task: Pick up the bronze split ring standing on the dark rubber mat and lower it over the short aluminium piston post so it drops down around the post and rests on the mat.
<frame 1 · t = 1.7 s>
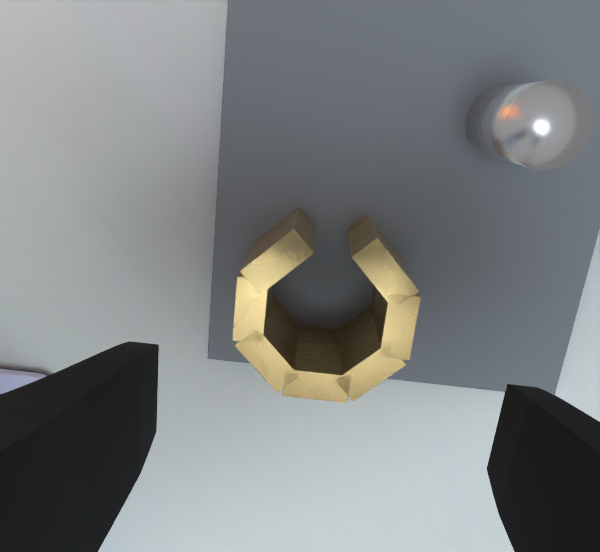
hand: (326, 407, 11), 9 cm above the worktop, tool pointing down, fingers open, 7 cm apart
piston post: (496, 122, 18), resting on mat
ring: (324, 281, 19), resting on mat
mat: (411, 174, 19), on the worktop
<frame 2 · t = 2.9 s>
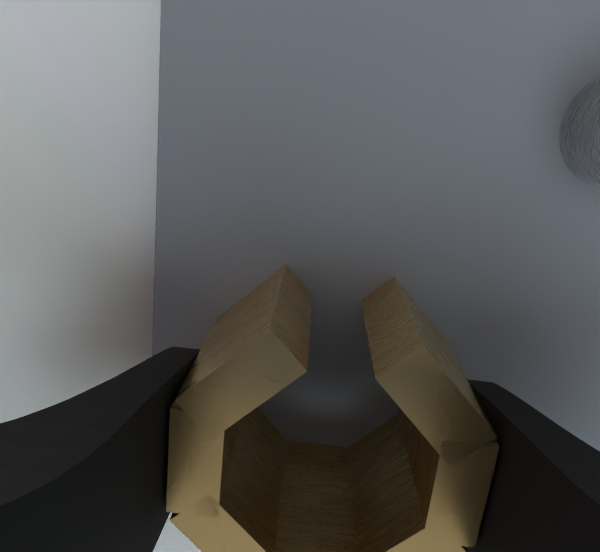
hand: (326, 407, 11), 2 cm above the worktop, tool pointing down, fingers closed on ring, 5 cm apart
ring: (326, 377, 12), resting on mat, touching gripper
mat: (464, 214, 12), on the worktop
when the fingers open (4 cm above the worktop, at t = 5.8 s): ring drops 2 cm, resting on mat.
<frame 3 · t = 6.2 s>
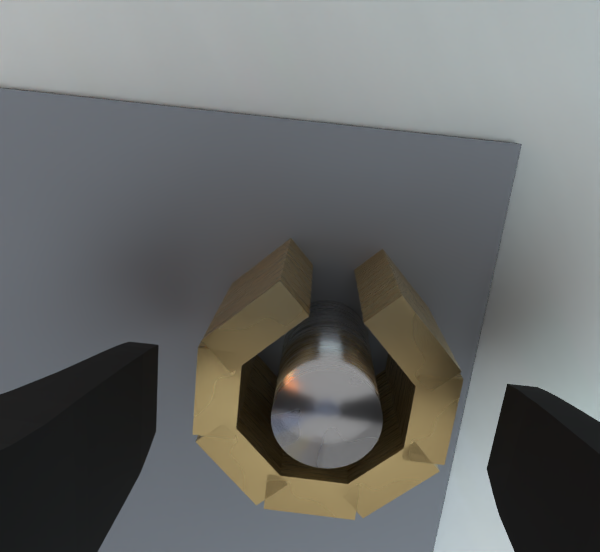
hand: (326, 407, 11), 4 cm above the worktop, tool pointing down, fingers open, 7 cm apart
piston post: (326, 332, 15), resting on mat
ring: (324, 337, 15), resting on mat
mat: (230, 387, 16), on the worktop
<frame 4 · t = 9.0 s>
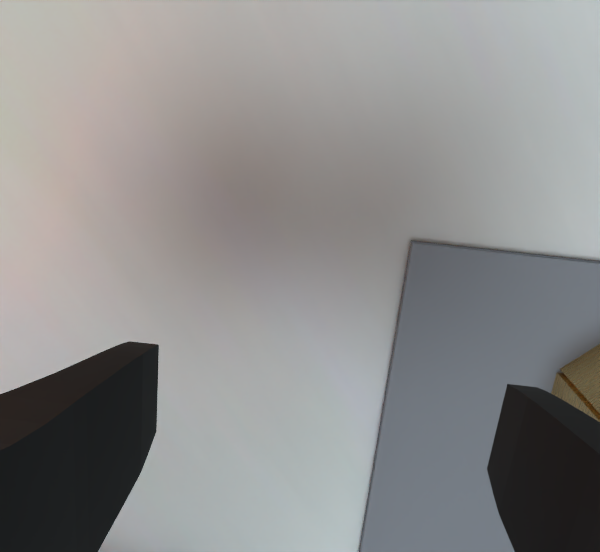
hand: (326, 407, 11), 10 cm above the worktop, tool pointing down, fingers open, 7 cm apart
mat: (539, 435, 22), on the worktop
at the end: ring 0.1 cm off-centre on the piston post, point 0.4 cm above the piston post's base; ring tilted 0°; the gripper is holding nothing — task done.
